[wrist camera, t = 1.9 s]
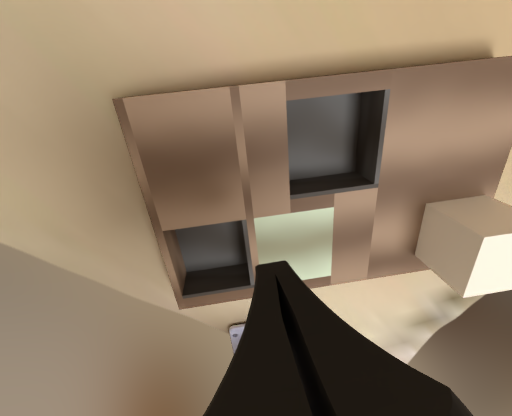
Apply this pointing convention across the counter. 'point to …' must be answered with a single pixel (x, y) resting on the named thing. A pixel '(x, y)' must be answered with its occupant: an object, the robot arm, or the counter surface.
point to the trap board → (313, 170)
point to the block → (468, 244)
